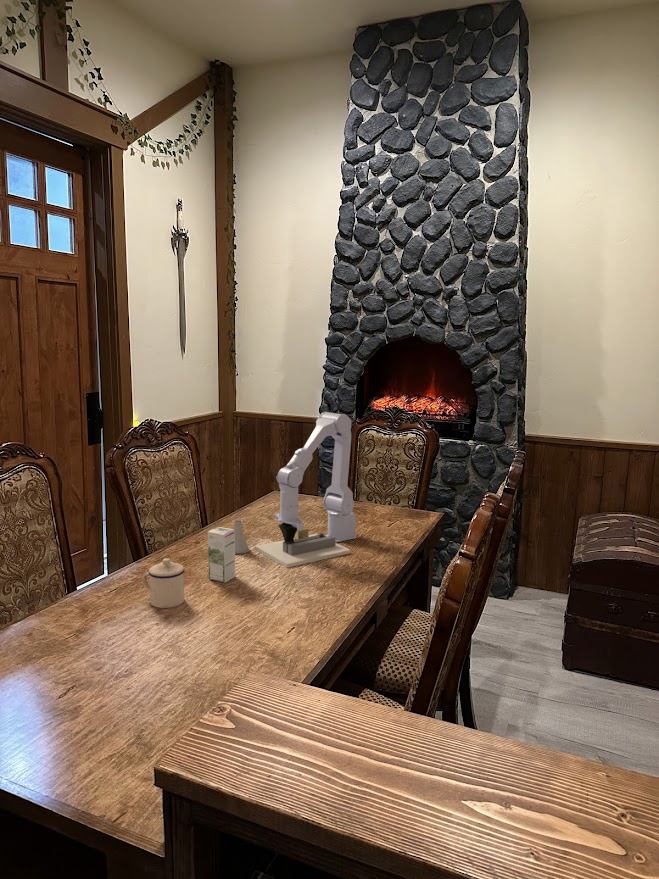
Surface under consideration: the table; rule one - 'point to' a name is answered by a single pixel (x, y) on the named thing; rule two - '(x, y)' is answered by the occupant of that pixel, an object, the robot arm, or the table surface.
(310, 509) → the table surface
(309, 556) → the hearth board
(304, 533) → the block
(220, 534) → the syrup box
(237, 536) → the flask
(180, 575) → the teacup with lid
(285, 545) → the block
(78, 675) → the table surface
